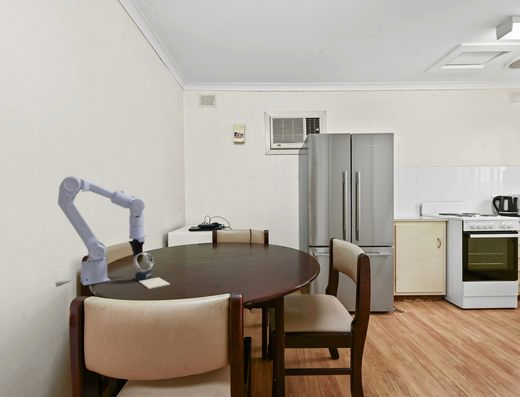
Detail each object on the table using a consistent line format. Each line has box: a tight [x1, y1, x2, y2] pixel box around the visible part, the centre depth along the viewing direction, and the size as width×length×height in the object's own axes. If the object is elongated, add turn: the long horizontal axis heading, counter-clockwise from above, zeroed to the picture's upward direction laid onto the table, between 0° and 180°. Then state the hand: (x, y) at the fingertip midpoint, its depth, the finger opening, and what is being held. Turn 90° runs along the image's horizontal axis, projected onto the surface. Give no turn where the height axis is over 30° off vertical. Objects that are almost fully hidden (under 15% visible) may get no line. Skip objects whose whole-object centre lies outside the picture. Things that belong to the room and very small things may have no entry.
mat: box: [138, 276, 171, 290], centre depth 111 cm, size 8×12×1 cm, turn 40°
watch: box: [133, 252, 155, 282], centre depth 117 cm, size 6×8×11 cm
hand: (136, 256), depth 123 cm, fingers closed
